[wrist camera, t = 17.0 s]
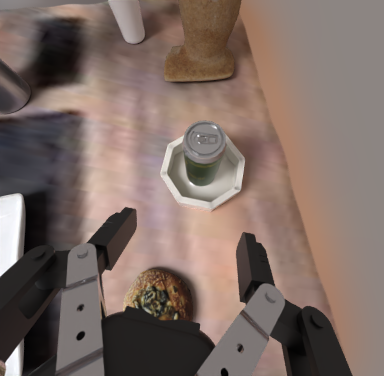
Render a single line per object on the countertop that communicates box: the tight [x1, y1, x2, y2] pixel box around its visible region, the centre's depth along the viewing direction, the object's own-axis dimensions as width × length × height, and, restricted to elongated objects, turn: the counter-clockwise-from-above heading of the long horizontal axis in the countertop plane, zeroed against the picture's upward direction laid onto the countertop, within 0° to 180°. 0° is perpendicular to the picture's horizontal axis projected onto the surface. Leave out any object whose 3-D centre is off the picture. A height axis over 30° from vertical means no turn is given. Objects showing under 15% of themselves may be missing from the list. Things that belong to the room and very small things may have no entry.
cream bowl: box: [160, 134, 245, 212], centre depth 31 cm, size 13×13×4 cm
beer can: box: [182, 121, 226, 186], centre depth 26 cm, size 5×5×12 cm
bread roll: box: [123, 269, 193, 321], centre depth 26 cm, size 11×11×5 cm
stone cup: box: [164, 0, 241, 82], centre depth 32 cm, size 15×12×15 cm
